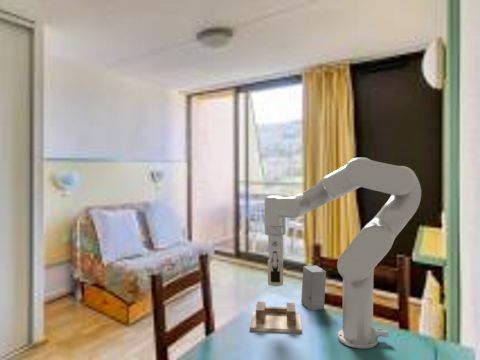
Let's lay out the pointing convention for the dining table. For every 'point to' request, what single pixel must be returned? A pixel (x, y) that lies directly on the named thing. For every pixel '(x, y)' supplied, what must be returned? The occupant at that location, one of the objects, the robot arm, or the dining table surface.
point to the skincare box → (313, 287)
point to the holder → (276, 319)
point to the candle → (280, 274)
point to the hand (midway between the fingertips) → (275, 278)
